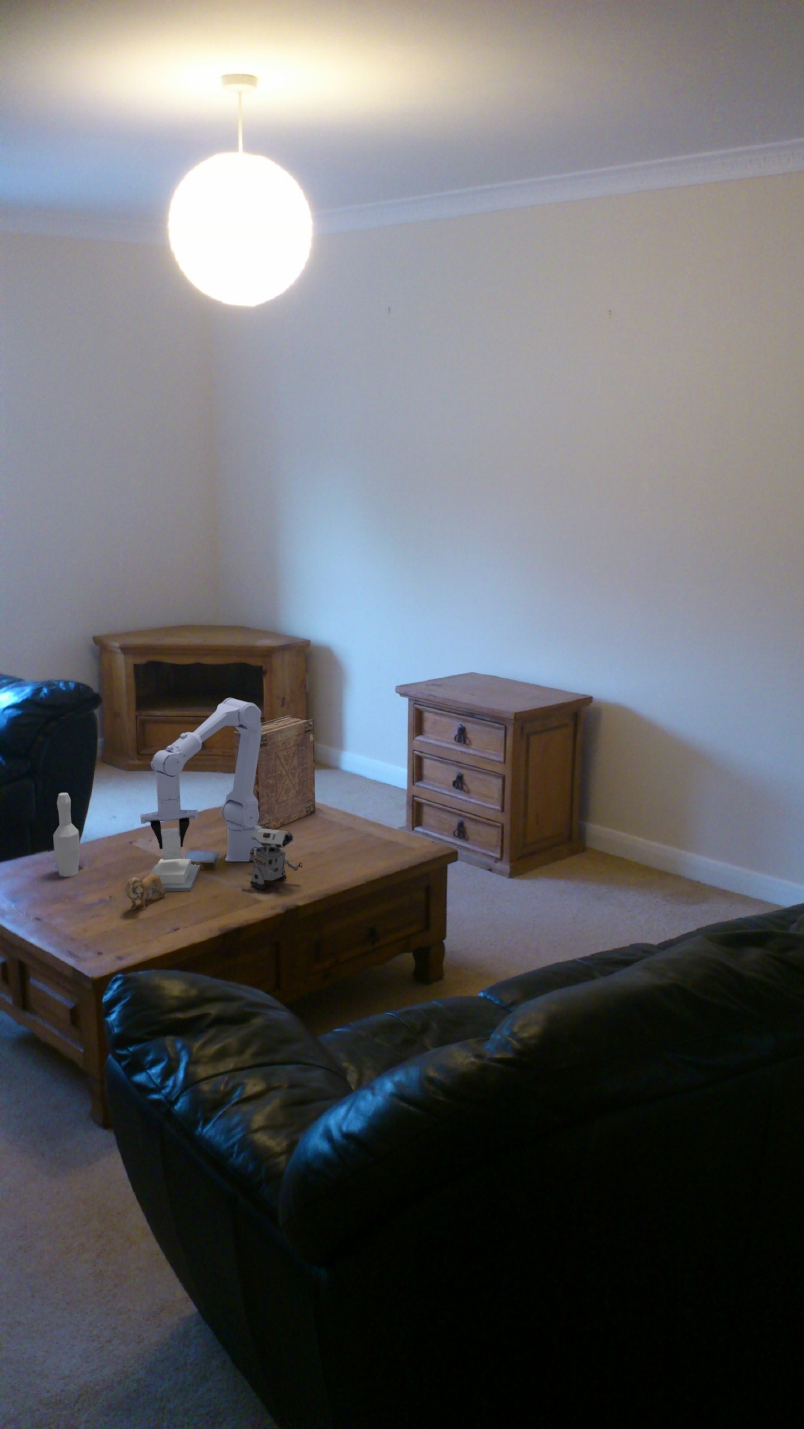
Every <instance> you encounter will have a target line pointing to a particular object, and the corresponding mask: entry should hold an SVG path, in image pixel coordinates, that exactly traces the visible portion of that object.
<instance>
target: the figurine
mask: <svg viewBox="0 0 804 1429" xmlns="http://www.w3.org/2000/svg"><path fill="white" fill-rule="evenodd" d="M251 838H252V840H257V842H258V843H259V844H260V845H261V846H262V847H259V848H257V847H254V848H256V855H254V849H251V851H250V859H249V861H248V862H249V863H250V862H251V863H252V862H254V864H253V869H252V871H251V875H250V877H251V878H250V879H251V880H250V883H249V885H250V886H252V887H254V888H257V889H259V890H264V889H266V883H265V881H275V880H279V881H282V882H284V881H286V880H287V874H286V873H287V872H286V868H285V865H287V867H288V868H291V869H292V870H293V871H295V872H296V871H298V870H299V868H303V863H302V862H301V861H300V862H299V864H297V865H295V864H293V863H292V862H291V861H289V859H288V858H286V854H287V853H286V850H285V849H284V848H286V847H287V846H289V845H290V844H291V843H292V842H294V834H293V833H291V831H290V830H288V829H287V830H280V829H274V830H272V829H262V828H260V829H258V830H257V831H255V832H254V833H253V834H252V835H251ZM253 860H254V861H253Z"/></svg>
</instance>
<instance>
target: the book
mask: <svg viewBox="0 0 804 1429" xmlns="http://www.w3.org/2000/svg"><path fill="white" fill-rule="evenodd" d="M261 726H262V734H261V741H260V748H259V755H258V761H257V768H256V775H255V782H254V789H253V794H254V796H255V797H256V799H257V801H258V811H259V820H258V822H257V824H256V826H261V827H262V829H272V830H278V829H279V828H282V827H284V826H286V825H289V824H291V823H292V824H293V823H294V822H297V821H299V820H301V819H304V818H307V817H309V816H311V815H314V814H315V813H316V784H315V783H316V781H315V780H316V779H315V778H316V777H315V775H316V774H315V766H316V765H315V722H314V719H313V718H311V719H307V720H306V719H305V720H304V719H302V718H301V719H300V718H295V717H293V715H292V714H289V715H285V716H282V717H281V716H280V717H279V718H275V719H271V720H267V721H265V722H261ZM240 737H241V734H240V732H239V731H238V730H237V729H236V730H234V732H233V742H234V743H233V745H234V746H233V747H234V750H233V751H234V772H235V771H236V764H237V758H238V751H239V744H240Z"/></svg>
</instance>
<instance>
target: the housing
mask: <svg viewBox="0 0 804 1429" xmlns="http://www.w3.org/2000/svg"><path fill="white" fill-rule="evenodd" d="M161 839H162V849H160V850H161V855H162V856H161V857H162V859H163V860H172V859H182V847H181V843H180V834H179V827H173V828H170V827H169V828H161Z"/></svg>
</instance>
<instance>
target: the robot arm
mask: <svg viewBox="0 0 804 1429" xmlns="http://www.w3.org/2000/svg"><path fill="white" fill-rule="evenodd" d="M261 718H262V711H261V709H260V708H259V707H258V706H257V705H256V704H255V703H254V702H248V701H244V700H241V699H236V698H233V697H228V698H225V699H224V700H223V701H222V702H220V703H219V704H218V705H217V708H216V710H215V711H214V712H213V713H212V714H211V715H210V716H208V718H207V719H206V720H205V721H203V723H201V724H200V725H199V726H198V727H197V728H196V729H195V730H194V731H193V732H190V731H186V732H183V733H181V734H180V735H179V738H178V739H176V740H175V741H174V742H173V743H171V744H170V745H168V746H166V748H165V749H163V750H162V749H161V750H158V751H157V752H156V753H155V754H154V755H153V757H152V761H151V762H150V766H151V769H152V770H153V771H154V773H155V774H154V775H155V777H156V778H155V779H156V797H157V811H154V812H148V813H140V824H141V825H142V824H143V825H145V824H146V823H150V828H151V829H152V831H153V833H154V835H155V837H156V840H157V842H158V848H159V850H161V849H162V839H161V829H162V826H161V825H162V824H161V822H168V821H170V822H171V821H178V830H179V834H180V843H181V848H183V847H184V841H185V837H186V834H187V830H188V829H189V827H190V822H191V821H190V820H191V819H194V820H199V810H198V809H181V808H182V807H181V790H180V789H181V788H180V787H181V786H180V774H181V772H182V771H183V769H184V767H185V764H187V761H189V760H190V759H191V758H193V756H195V754H197V753H198V752H199V751H200V750H201V749H202V747H203V746H202V745H203V744H202V743H203V742H205V741H206V740H207V739H208V738H210V737H212V735H215V733H217V732H218V731H219V730H221V729H222V728H224V727H234V728H236V731H237V730H238V731H239V732H240V734H241V737H240V744H239V751H238V758H237V764H236V771H235V770H234V779H233V787H232V790H231V791H230V792H229V793H228V794H225V795H226V797H225V800H224V803H223V804H222V807H221V810H220V814H221V818H222V819H223V820H224V821H225V825H226V826H227V830H226V831H227V854H226V856H225V858H224V861H225V862H250V861H249V859H250V851H251V849H254V855H256V848H254V847H257V848H259V847H262V846H261V845H260V844H259V843H258V842H257V840H252V838H251V835H252V834H253V833H254V832H255V831H257V830H258V829H260V828H262V827H261V826H256V824H257V822H258V820H259V811H258V801H257V799H256V797H255V796H254V794H253V789H254V782H255V775H256V768H257V761H258V755H259V748H260V741H261V734H262V726H261V723H262V721H261ZM253 862H255V861H254V860H253Z"/></svg>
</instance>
